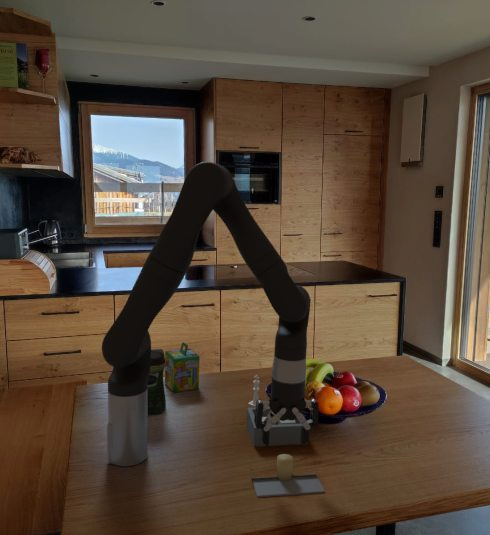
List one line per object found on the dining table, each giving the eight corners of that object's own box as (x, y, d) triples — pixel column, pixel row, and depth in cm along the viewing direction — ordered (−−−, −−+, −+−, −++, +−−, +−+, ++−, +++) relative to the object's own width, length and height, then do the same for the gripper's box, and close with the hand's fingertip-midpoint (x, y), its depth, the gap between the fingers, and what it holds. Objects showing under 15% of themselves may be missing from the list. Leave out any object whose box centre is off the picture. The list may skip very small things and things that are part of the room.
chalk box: (164, 383, 168) (164, 341, 165) (189, 379, 172) (189, 338, 170) (173, 393, 159) (173, 349, 157) (199, 389, 164) (200, 345, 162)
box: (253, 450, 125) (254, 427, 124) (246, 428, 137) (247, 407, 136) (307, 447, 127) (308, 425, 126) (295, 425, 139) (296, 405, 138)
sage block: (280, 437, 130) (281, 423, 130) (277, 430, 134) (277, 416, 134) (295, 436, 131) (295, 422, 130) (291, 429, 135) (292, 415, 134)
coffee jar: (165, 404, 151) (165, 345, 149) (166, 415, 144) (166, 353, 141) (132, 405, 149) (132, 346, 147) (132, 417, 142) (131, 355, 139)
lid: (257, 499, 106) (257, 476, 105) (247, 466, 119) (248, 445, 118) (324, 495, 108) (325, 471, 107) (308, 463, 121) (309, 442, 120)
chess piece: (257, 411, 148) (258, 379, 147) (244, 406, 151) (245, 375, 150) (266, 406, 152) (267, 374, 150) (253, 401, 155) (254, 371, 153)
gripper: (260, 382, 105) (256, 453, 107) (325, 381, 107) (320, 451, 110) (254, 370, 112) (251, 437, 115) (315, 369, 115) (310, 435, 117)
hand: (284, 444), depth 112 cm, fingers open, 8 cm apart
